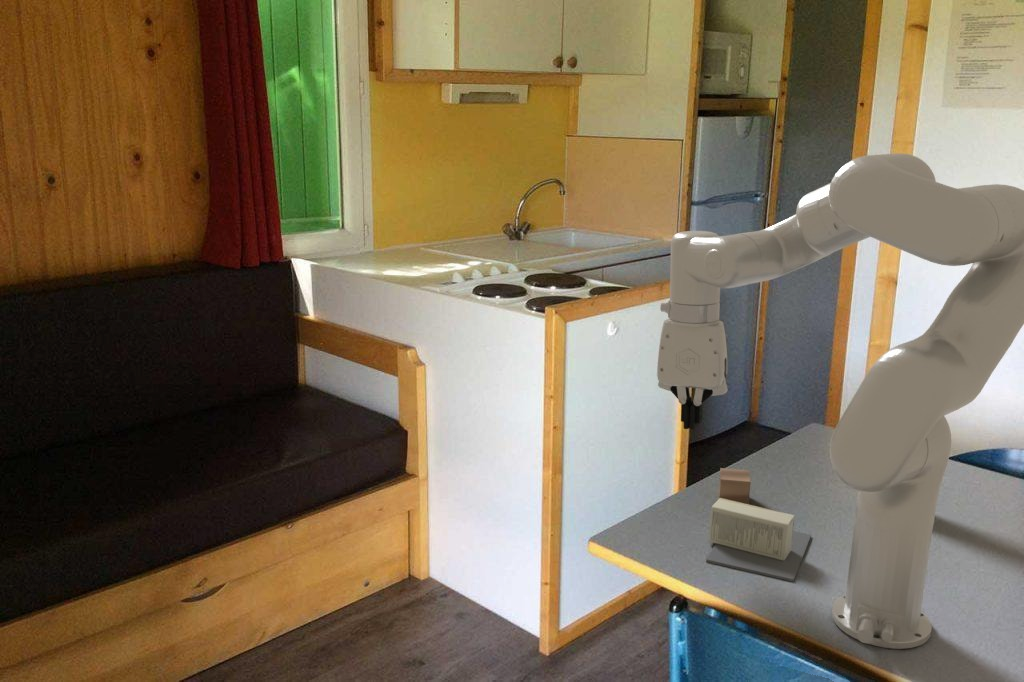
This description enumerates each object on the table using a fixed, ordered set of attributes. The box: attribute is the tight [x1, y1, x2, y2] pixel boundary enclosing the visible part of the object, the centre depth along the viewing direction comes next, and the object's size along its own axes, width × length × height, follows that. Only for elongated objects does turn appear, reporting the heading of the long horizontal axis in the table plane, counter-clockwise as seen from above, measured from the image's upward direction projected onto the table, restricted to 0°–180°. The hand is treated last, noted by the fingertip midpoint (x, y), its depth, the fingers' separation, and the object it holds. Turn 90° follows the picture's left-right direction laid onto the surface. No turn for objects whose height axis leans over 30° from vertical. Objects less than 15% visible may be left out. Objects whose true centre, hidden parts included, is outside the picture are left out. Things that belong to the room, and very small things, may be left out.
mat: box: [705, 530, 812, 583], centre depth 146 cm, size 16×13×1 cm
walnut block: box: [717, 467, 751, 505], centre depth 162 cm, size 5×5×5 cm
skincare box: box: [708, 497, 796, 561], centre depth 145 cm, size 6×4×12 cm
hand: (691, 426), depth 146 cm, fingers closed
